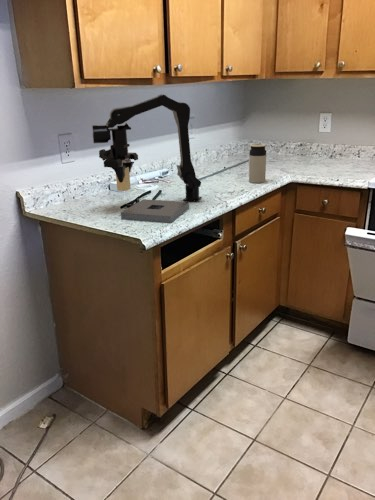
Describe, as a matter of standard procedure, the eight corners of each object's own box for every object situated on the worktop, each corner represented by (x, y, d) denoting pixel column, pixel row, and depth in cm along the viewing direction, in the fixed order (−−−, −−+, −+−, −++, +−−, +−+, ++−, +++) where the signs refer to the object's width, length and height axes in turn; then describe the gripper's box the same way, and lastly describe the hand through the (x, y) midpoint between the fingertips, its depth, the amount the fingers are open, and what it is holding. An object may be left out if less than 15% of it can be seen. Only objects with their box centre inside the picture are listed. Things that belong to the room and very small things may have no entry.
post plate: (143, 205, 183) (143, 199, 182) (189, 208, 177) (188, 202, 176) (121, 218, 166) (120, 212, 165) (170, 222, 159) (170, 216, 158)
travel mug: (252, 184, 213) (252, 146, 207) (246, 180, 221) (247, 144, 214) (267, 182, 215) (268, 145, 208) (261, 179, 222) (263, 143, 216)
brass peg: (121, 188, 183) (120, 166, 179) (130, 188, 181) (128, 166, 178) (117, 190, 179) (115, 168, 176) (126, 191, 178) (124, 168, 175)
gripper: (113, 138, 184) (116, 175, 190) (89, 144, 168) (94, 185, 173) (137, 138, 181) (140, 176, 186) (115, 145, 164) (119, 186, 170)
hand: (123, 181), depth 179 cm, fingers closed on brass peg, 4 cm apart
